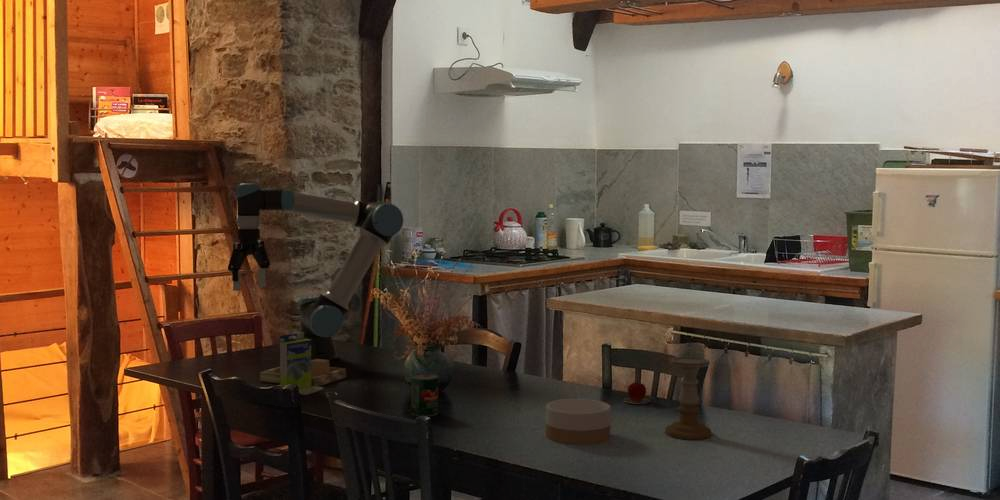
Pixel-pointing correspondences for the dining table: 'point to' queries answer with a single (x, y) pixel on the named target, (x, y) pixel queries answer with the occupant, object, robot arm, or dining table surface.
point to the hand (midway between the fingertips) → (249, 288)
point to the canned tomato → (424, 394)
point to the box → (295, 360)
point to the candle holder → (688, 401)
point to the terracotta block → (319, 367)
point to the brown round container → (578, 421)
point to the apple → (636, 393)
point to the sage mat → (309, 389)
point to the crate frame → (333, 375)
